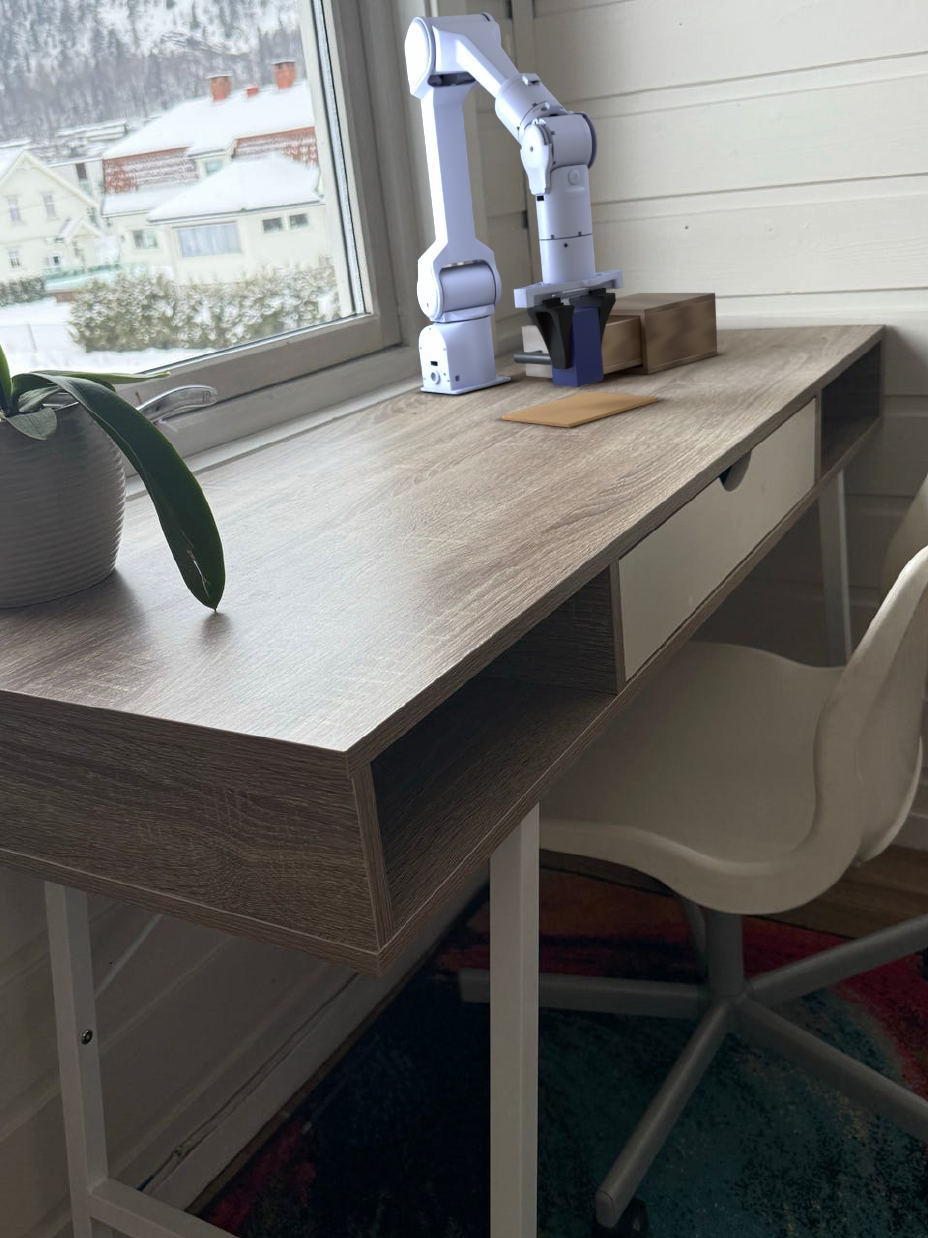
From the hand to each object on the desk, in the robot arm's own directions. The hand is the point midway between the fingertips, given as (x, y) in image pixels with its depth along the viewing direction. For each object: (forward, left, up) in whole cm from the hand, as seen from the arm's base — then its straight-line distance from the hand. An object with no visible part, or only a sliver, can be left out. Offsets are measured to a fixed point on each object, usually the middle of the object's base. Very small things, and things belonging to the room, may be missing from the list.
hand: (576, 364), depth 128 cm
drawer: (+14, +14, -4) cm, 20 cm away
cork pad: (0, 0, -5) cm, 5 cm away
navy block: (0, 0, -2) cm, 2 cm away
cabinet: (+26, +14, -5) cm, 30 cm away
